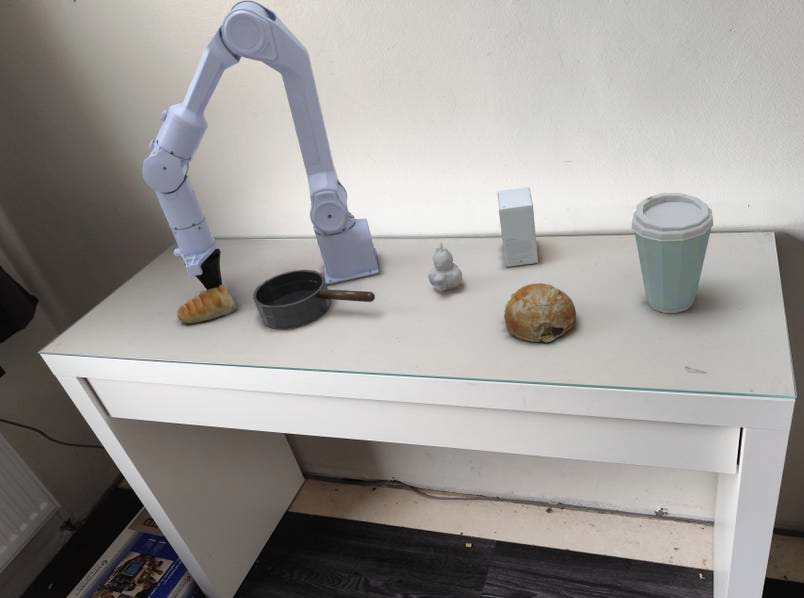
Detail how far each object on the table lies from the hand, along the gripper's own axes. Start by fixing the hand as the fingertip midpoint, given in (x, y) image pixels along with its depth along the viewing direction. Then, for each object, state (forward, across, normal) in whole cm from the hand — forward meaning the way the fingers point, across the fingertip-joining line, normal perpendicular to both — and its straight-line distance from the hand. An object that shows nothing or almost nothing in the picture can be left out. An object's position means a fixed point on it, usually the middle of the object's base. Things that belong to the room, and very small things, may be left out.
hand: (217, 293), depth 118 cm
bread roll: (+1, +30, +50) cm, 58 cm away
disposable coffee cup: (+1, +32, +69) cm, 76 cm away
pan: (+1, +10, +14) cm, 17 cm away
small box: (+1, +8, +53) cm, 54 cm away
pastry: (+1, +5, -1) cm, 5 cm away
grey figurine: (+1, +14, +39) cm, 42 cm away
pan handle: (-2, +15, +23) cm, 28 cm away
